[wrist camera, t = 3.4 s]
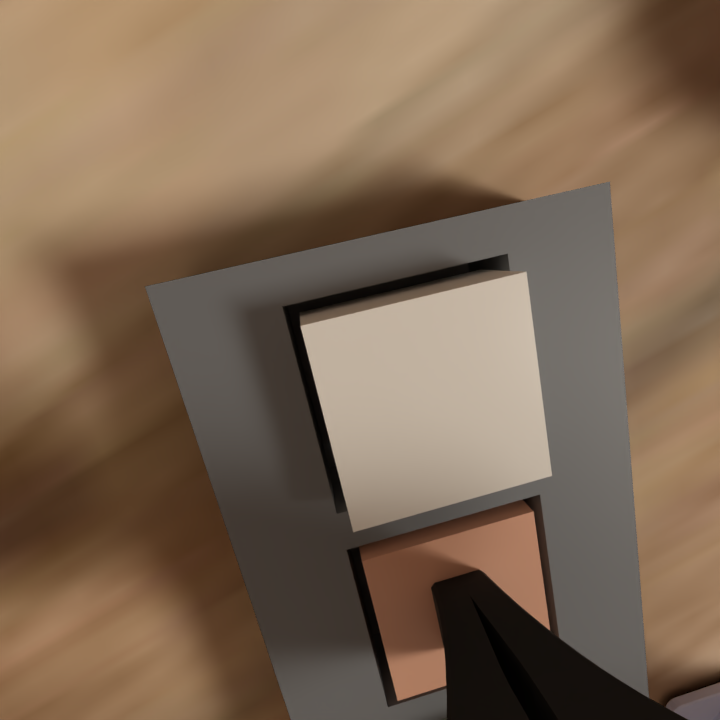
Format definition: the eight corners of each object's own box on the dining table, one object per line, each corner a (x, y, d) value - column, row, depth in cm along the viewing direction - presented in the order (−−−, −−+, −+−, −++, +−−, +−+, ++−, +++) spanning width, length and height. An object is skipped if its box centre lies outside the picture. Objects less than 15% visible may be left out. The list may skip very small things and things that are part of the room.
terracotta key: (514, 593, 14) (553, 651, 12) (382, 633, 14) (397, 700, 12) (495, 470, 13) (533, 511, 11) (350, 511, 13) (362, 561, 11)
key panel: (588, 699, 18) (656, 800, 14) (342, 781, 17) (354, 909, 13) (530, 201, 13) (609, 182, 10) (186, 279, 12) (144, 286, 9)
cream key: (505, 436, 12) (551, 476, 10) (342, 480, 11) (353, 531, 9) (480, 269, 11) (526, 271, 8) (299, 312, 10) (300, 325, 8)
